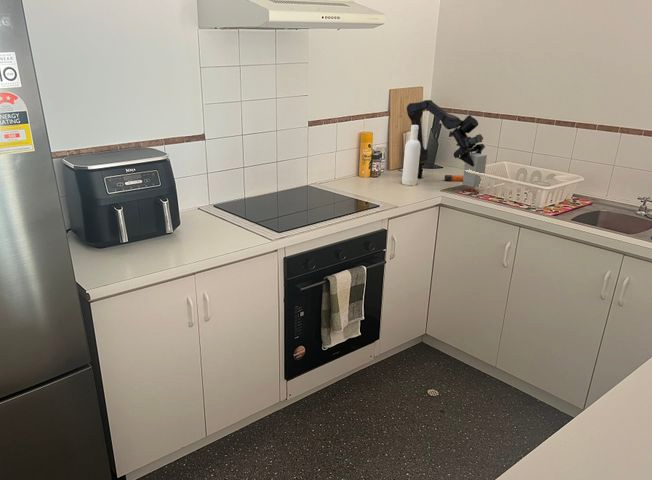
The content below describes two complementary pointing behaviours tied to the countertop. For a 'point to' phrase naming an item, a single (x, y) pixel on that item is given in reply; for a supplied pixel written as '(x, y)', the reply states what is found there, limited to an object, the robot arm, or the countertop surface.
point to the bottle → (411, 158)
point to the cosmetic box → (478, 166)
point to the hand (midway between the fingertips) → (477, 165)
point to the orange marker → (453, 178)
